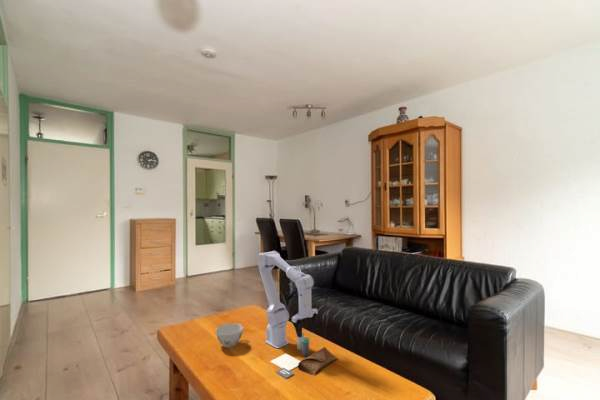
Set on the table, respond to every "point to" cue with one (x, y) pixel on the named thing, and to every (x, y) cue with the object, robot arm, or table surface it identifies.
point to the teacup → (229, 334)
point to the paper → (286, 362)
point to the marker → (305, 347)
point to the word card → (284, 373)
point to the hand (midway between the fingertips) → (305, 333)
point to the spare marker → (300, 342)
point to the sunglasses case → (316, 361)
